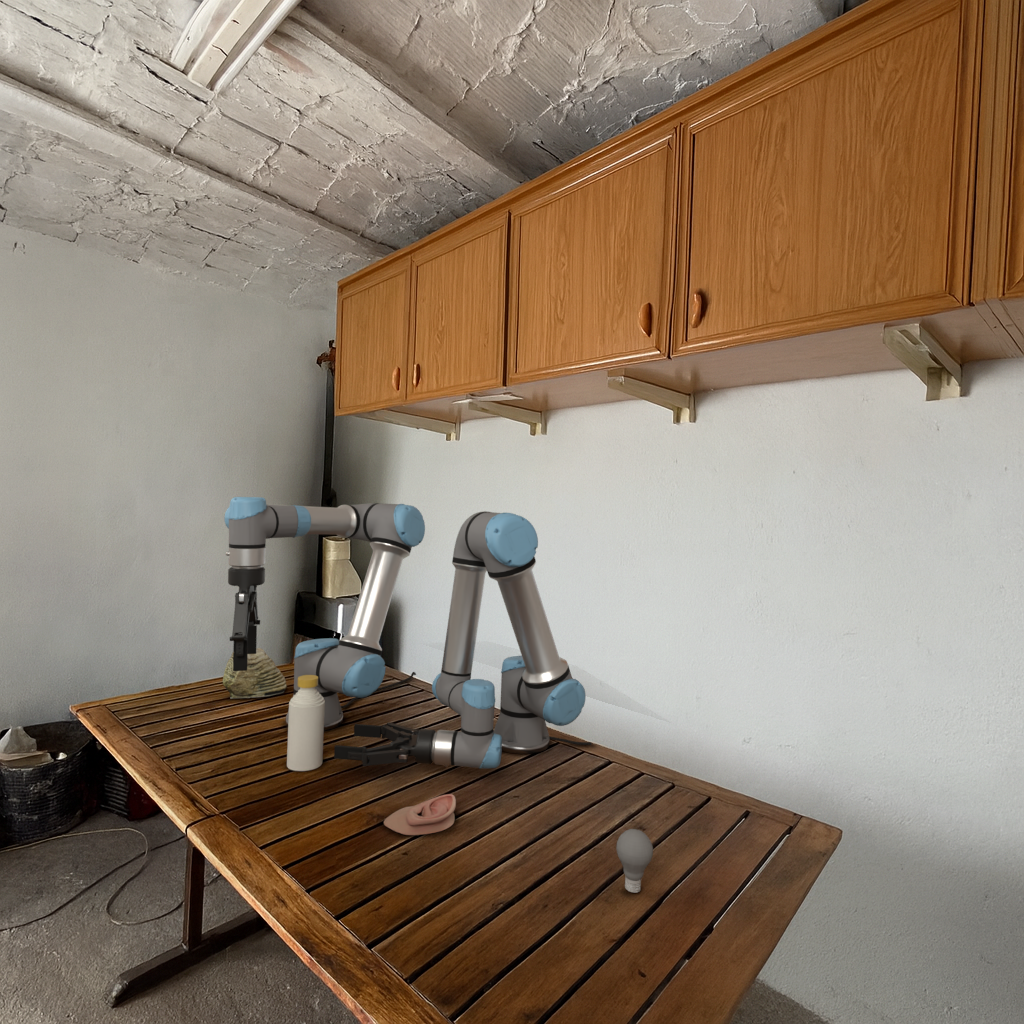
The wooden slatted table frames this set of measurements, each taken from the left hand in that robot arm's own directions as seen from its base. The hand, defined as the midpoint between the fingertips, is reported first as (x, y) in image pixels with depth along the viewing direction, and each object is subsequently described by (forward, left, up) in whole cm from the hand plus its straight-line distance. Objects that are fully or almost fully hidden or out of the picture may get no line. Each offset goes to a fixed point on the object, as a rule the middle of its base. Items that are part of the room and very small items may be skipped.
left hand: (245, 661), depth 141 cm
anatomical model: (-14, +43, -26) cm, 52 cm away
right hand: (-19, +12, -19) cm, 29 cm away
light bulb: (-23, +85, -26) cm, 92 cm away
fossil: (-32, -51, -26) cm, 66 cm away
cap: (-14, +4, -6) cm, 15 cm away
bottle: (-14, +4, -26) cm, 30 cm away
